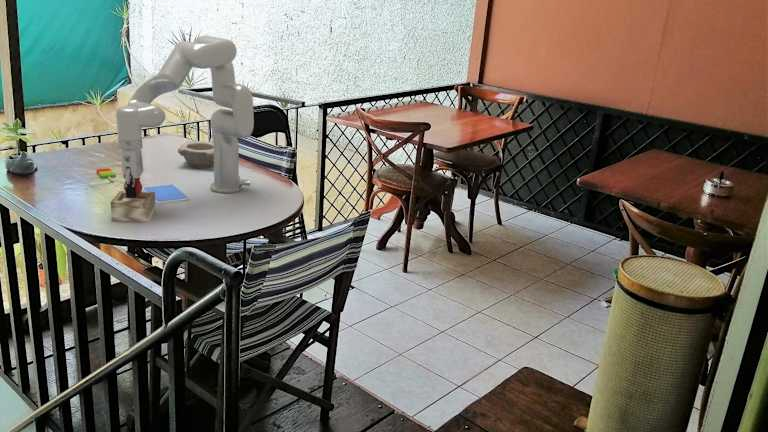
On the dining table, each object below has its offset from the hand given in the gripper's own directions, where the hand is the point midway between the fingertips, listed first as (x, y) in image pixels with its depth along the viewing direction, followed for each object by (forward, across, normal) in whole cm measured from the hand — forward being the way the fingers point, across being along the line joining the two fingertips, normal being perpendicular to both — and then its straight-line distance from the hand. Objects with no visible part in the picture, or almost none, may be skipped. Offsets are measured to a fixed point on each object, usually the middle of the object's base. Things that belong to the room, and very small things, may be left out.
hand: (133, 194), depth 236 cm
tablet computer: (+9, +23, -6) cm, 25 cm away
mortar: (+8, +64, -14) cm, 66 cm away
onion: (+2, 0, 0) cm, 2 cm away
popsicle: (+8, +43, +20) cm, 48 cm away
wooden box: (+8, 0, 0) cm, 8 cm away
